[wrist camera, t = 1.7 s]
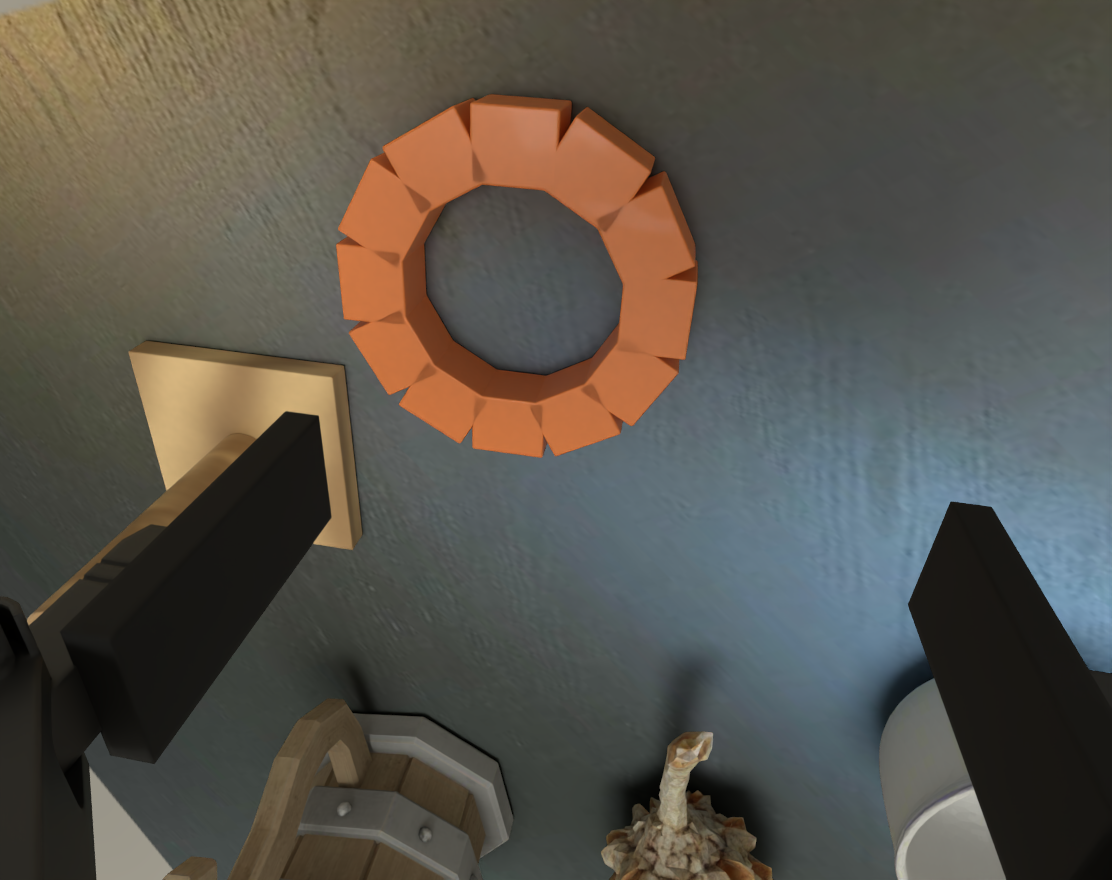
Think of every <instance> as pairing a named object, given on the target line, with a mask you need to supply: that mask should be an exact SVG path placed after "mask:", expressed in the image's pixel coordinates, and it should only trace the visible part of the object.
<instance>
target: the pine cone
mask: <svg viewBox="0 0 1112 880" xmlns="http://www.w3.org/2000/svg"><path fill="white" fill-rule="evenodd" d="M712 744H713V733H711V732H685V733H683V734H681V735H680V736H678V737H677V738H675V739H674V740H673V741H672V742H671V743H670V744H669V745H668V749H667V757H666V762H665V767H664V772H663V777H662V780H661V784H660V793H659V797H660V801H658V800H656V799H654V798H652V797H651V799H650V813H649V812H648V811H647V810H646V809H645V808H644V807H643V806H642V805H640V804H635V805H634V807H633V808H632V813H633V820H632V823H631V825H630V826H625V828H623V829H618V830H612V831H611V832H610V833H609V834H608V835H607V836H606V840H607V846H606V847H605V848H604V849H603V851H602V852H601V854H602V857H603V860H604V863H605V864H606V865H608V866H609V867H611V868H612V869H614V871H615V872H614V874H613V875H612V876H611V878H610V879H609V880H773V879H772V868H770V867H768V866H766V865H765V864H763V863H761V862H760V861H759V860H757V859H755V858H754V856H752V855H751V854H750V852H751V851H752V850H753V849H754V848H755V844H756V839H757V838H756V837H754V836H753V835H751V834H750V833H748V832H747V830H746V826H745V823H744V819H743V818H742V817H730V818H727V817H725V816H724V815H722V814H716V813H715V811H714V809H713V808H712V806H711V799H710V795H702V794H701V793H700V792H699V791H698V790H697V791H696V792H694V793H693V794H692V793H691V792H690V791H689V790H688V791H687V793H686V792H685V791H686V787H687V784H688V781H689V775H690V771H691V770H692V769H693V768H694V767H695V766H696V764H697V763H698V762H699V761H703V760H707V759H708V756H709V754H710V751H711V749H712Z"/></svg>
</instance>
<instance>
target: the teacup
mask: <svg viewBox="0 0 1112 880" xmlns="http://www.w3.org/2000/svg"><path fill="white" fill-rule="evenodd" d="M879 770H880V779H881V786H882V792H883V798H884V804H885V809H886V814H887V819H888V823H889V828H890V832H891V837H892V841H893V846H894V850H895V857H894V858H895V871H896V875H897V879H898V880H1006V878H1005V875H1004V872H1003V869H1002V866H1001V864H1000V861H999V858H998V855H997V852H996V850H995V847H994V844H993V841H992V838H991V836H990V833H989V830H988V827H987V824H986V822H985V819H984V816H983V813H982V810H981V808H980V805H979V802H978V799H977V796H976V794H975V791H974V788H973V785H972V782H971V780H970V777H969V774H968V771H967V769H966V766H965V763H964V760H963V757H962V755H961V752H960V749H959V746H958V743H957V741H956V738H955V735H954V732H953V729H952V727H951V724H950V721H949V718H948V715H947V713H946V710H945V707H944V704H943V701H942V699H941V696H940V693H939V690H938V687H937V685H936V682H935V679H934V678H933V679H931V680H929V681H927V682H926V683H924V684H922V685H921V686H919V687H917V688H916V689H915V690H913V691H912V692H911V693H910V694H908V695H907V696H906V697H905V698H904V699H903V700H902V701H901V702H900V703H899V704H898V706H897V707H896V708H895V710H894V711H893V713H892V714H891V715H890V717H889V719H888V721H887V723H886V725H885V728H884V731H883V733H882V737H881V742H880V747H879Z"/></svg>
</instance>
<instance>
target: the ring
mask: <svg viewBox="0 0 1112 880" xmlns="http://www.w3.org/2000/svg"><path fill="white" fill-rule="evenodd" d="M571 109H572V103H571V101H569V100H558V99H545V98H533V97H520V96H507V95H495V94H490V95H487V96H485V97H483V98H480V99H478V100H476V101H475V99H474V98H471V99H469V100H466V101H464V102H461V103H459V104H457V105H454V106H452V107H450V108H448V109H447V110H445V111H443V112H441V113H440V114H438V115H436V116H434V117H433V118H431V119H429V120H428V121H426V122H424V123H422V124H421V125H419V126H417V127H415V128H414V129H412V130H410V131H408V132H407V133H405V134H403V135H401V136H400V137H398V138H396V139H395V140H393V141H391V142H389V143H388V144H386V145H384V146H383V151H384V152H385V153H383V154H381V155H378V156H376V157H374V158H372V159H371V160H370V162H369V164H368V166H367V168H366V170H365V173H364V175H363V177H362V179H361V181H360V183H359V185H358V187H357V190H356V192H355V194H354V196H353V198H352V200H351V202H350V204H349V207H348V209H347V211H346V213H345V215H344V217H343V219H342V221H341V224H340V226H339V228H338V230H339V231H341V232H342V233H344V234H345V235H347V236H348V237H346V238H345V239H343V240H342V241H340V242H339V243H337V245H336V248H337V258H338V267H339V277H340V286H341V296H342V306H343V315H344V319H347V320H356V321H360V322H359V323H358V324H357V325H356V326H355V327H354V328H353V329H352V330H351V331H350V332H349V334H350V336H351V337H352V339H353V340H354V342H355V344H356V345H357V347H358V348H359V350H360V351H361V353H362V354H363V356H364V357H365V359H366V361H367V362H368V364H369V365H370V367H371V368H372V370H373V371H374V373H375V374H376V376H377V378H378V379H379V381H380V382H381V384H382V385H383V387H384V388H385V390H386V391H387V393H388V394H389V395H391V394H393V393H396V392H398V391H400V390H403V389H405V388H407V387H409V389H408V390H407V392H406V393H405V395H404V397H403V398H402V400H401V402H400V403H399V405H400V406H401V407H403V408H404V409H406V410H408V411H409V412H411V413H412V414H414V415H415V416H417V417H419V418H420V419H422V420H423V421H425V422H426V423H428V424H430V425H431V426H433V427H434V428H436V429H437V430H439V431H440V432H442V433H444V434H445V435H447V436H448V437H450V438H451V439H453V440H455V441H456V442H458V443H461V442H462V441H463V439H464V438H465V436H466V435H467V433H468V432H469V431H470V429H471V428H472V446H473V448H474V449H481V450H489V451H496V452H503V453H511V454H518V455H525V456H532V457H540V458H541V457H542V456H543V454H544V451H545V448H546V445H547V443H548V444H549V446H550V448H551V450H552V451H553V453H554V455H555V456H558V455H561V454H564V453H567V452H570V451H573V450H576V449H578V448H581V447H584V446H587V445H590V444H593V443H596V442H599V441H602V440H604V439H607V438H610V437H613V436H616V435H619V434H620V433H621V428H622V423H623V421H624V422H626V423H627V424H629V425H630V426H633V425H634V424H635V423H636V422H637V420H638V419H639V418H640V417H641V416H642V415H643V414H644V412H645V411H646V410H647V409H648V408H649V407H650V405H651V404H652V403H653V402H654V401H655V400H656V399H657V397H658V396H659V395H660V394H661V393H662V392H663V390H664V389H665V388H666V387H667V386H668V385H669V384H670V382H671V381H672V380H673V379H674V378H675V377H676V375H677V374H678V373H679V359H682V360H685V358H686V352H687V346H688V340H689V334H690V327H691V321H692V315H693V309H694V302H695V296H696V290H697V284H698V261H696V260H695V242H694V240H693V237H692V235H691V232H690V230H689V227H688V225H687V223H686V220H685V218H684V215H683V213H682V210H681V208H680V205H679V203H678V200H677V198H676V196H675V193H674V191H673V188H672V186H671V183H670V181H669V178H668V176H667V173H666V172H665V171H663V172H661V173H659V174H657V175H654V176H652V177H650V178H648V176H649V175H650V173H651V171H652V167H653V164H654V160H655V157H654V156H653V155H651V154H650V153H649V152H647V151H646V150H645V149H643V148H642V147H641V146H639V145H638V144H637V143H635V142H634V141H633V140H631V139H630V138H629V137H627V136H626V135H625V134H623V133H622V132H620V131H619V130H618V129H616V128H615V127H614V126H612V125H611V124H610V123H608V122H607V121H606V120H604V119H603V118H602V117H600V116H599V115H598V114H596V113H595V112H594V111H592V110H591V109H590V108H588V107H586V108H585V109H584V110H583V111H582V112H580V113H579V114H578V115H577V116H576V117H575V118H574V120H573V122H572V123H571ZM647 178H648V179H647ZM480 185H491V186H502V187H513V188H523V189H534V190H544V191H546V192H547V193H549V194H550V195H551V196H553V197H554V198H555V199H557V200H558V201H560V202H561V203H562V204H564V205H565V206H567V207H568V208H569V209H571V210H572V211H574V212H575V213H576V214H578V215H579V216H581V217H582V218H583V219H585V220H586V221H587V222H589V223H590V224H592V225H593V226H594V227H596V228H597V229H598V231H599V233H600V235H601V238H602V240H603V242H604V244H605V246H606V248H607V251H608V253H609V255H610V257H611V259H612V261H613V264H614V266H615V268H616V270H617V272H618V274H619V277H620V279H621V281H622V283H623V291H622V301H621V310H620V320H619V324H618V325H617V326H616V328H615V329H614V330H613V331H612V333H611V334H610V335H609V337H608V338H607V339H606V340H605V342H604V343H603V344H602V346H601V347H600V348H599V350H598V351H597V352H596V353H595V355H594V356H593V357H592V358H590V359H588V360H585V361H583V362H580V363H578V364H575V365H573V366H570V367H568V368H565V369H562V370H560V371H557V372H555V373H552V374H550V375H547V376H545V375H537V374H529V373H520V372H512V371H504V370H497V369H495V368H494V367H492V366H491V365H489V364H488V363H486V362H485V361H483V360H482V359H480V358H479V357H477V356H476V355H474V354H473V353H471V352H470V351H468V350H467V349H465V348H464V347H462V346H461V345H459V344H458V343H456V342H455V341H453V340H452V338H451V336H450V334H449V333H448V331H447V329H446V328H445V326H444V324H443V322H442V321H441V319H440V317H439V316H438V314H437V312H436V310H435V309H434V307H433V305H432V304H431V302H430V300H429V298H428V297H427V295H426V275H425V250H424V243H425V241H426V239H427V237H428V235H429V234H430V232H431V230H432V228H433V226H434V225H435V223H436V221H437V219H438V217H439V216H440V214H441V212H442V210H443V208H444V206H445V205H446V203H448V202H450V201H452V200H454V199H455V198H457V197H459V196H461V195H463V194H465V193H467V192H469V191H471V190H473V189H475V188H477V187H479V186H480Z"/></svg>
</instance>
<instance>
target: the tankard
mask: <svg viewBox="0 0 1112 880" xmlns="http://www.w3.org/2000/svg"><path fill="white" fill-rule="evenodd" d="M512 823H513V816H512V812H511V808H510V805H509V801H508V798H507V794H506V790H505V787H504V783H503V780H502V776H501V772H500V769H499V765H498V763H497V762H496V761H495V760H493V759H492V758H490V757H488V756H487V755H485V754H484V753H482V752H480V751H479V750H477V749H475V748H474V747H472V746H471V745H469V744H467V743H466V742H464V741H463V740H461V739H459V738H458V737H456V736H455V735H453V734H451V733H450V732H448V731H446V730H445V729H443V728H442V727H440V726H438V725H437V724H435V723H434V722H432V721H430V720H429V719H427V718H425V717H422V716H401V715H380V714H359V713H352V711H351V710H350V708H349V707H348V705H347V704H346V702H345V701H344V699H326V700H325V701H324V702H322V703H321V704H320V705H318V706H317V707H315V708H314V709H313V710H311V711H310V712H308V713H307V714H306V715H304V716H303V717H302V718H300V719H299V720H298V721H297V722H296V724H295V725H294V727H293V729H292V730H291V732H290V734H289V735H288V737H287V739H286V741H285V742H284V744H283V746H282V747H281V749H280V751H279V752H278V754H277V756H276V757H275V759H274V762H273V765H272V768H271V771H270V774H269V777H268V780H267V783H266V786H265V789H264V792H263V795H262V798H261V801H260V805H259V808H258V811H257V814H256V817H255V820H254V823H253V826H252V829H251V831H250V833H249V835H248V837H247V840H246V842H245V844H244V846H243V848H242V850H241V852H240V854H239V856H238V858H237V860H236V863H235V865H234V867H233V869H232V871H231V873H230V875H229V877H228V879H227V880H483V878H482V875H481V872H480V869H479V866H478V863H479V859H480V858H481V857H483V856H484V855H486V854H487V853H489V852H490V851H492V850H493V849H495V848H496V847H498V846H500V845H501V844H503V843H504V842H506V841H507V840H509V836H510V832H511V827H512ZM163 880H217V863H216V861H215V860H214V859H212V858H203V857H190V858H189V859H187V860H186V861H185V862H183V863H182V864H181V865H179V866H178V867H177V868H175V869H174V870H172V871H171V872H170V873H168V874H167V875H166V876H165V877H164V878H163Z"/></svg>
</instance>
